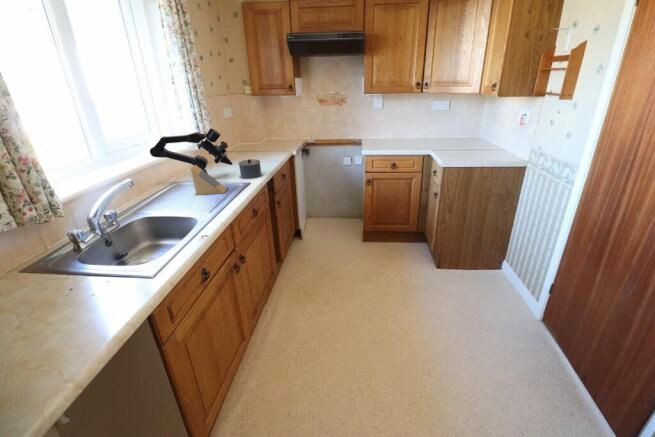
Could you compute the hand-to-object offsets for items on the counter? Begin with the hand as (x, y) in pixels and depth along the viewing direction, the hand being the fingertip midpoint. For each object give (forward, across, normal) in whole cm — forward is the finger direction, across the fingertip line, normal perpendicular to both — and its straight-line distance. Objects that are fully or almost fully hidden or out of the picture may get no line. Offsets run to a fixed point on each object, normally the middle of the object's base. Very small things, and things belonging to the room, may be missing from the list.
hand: (232, 164), depth 202 cm
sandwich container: (-1, -26, +13) cm, 29 cm away
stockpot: (+14, 0, -2) cm, 14 cm away
